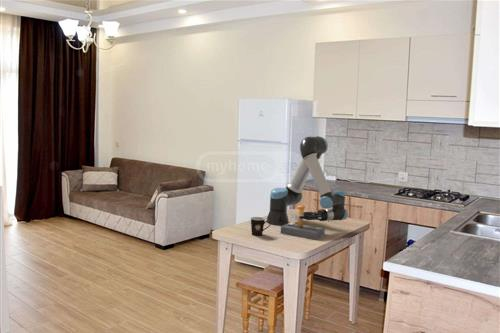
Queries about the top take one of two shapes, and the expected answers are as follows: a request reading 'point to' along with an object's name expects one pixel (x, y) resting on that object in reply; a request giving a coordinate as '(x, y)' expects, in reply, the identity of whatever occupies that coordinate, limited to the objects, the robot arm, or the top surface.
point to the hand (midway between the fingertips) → (292, 216)
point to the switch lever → (300, 212)
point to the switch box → (303, 231)
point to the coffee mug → (257, 225)
